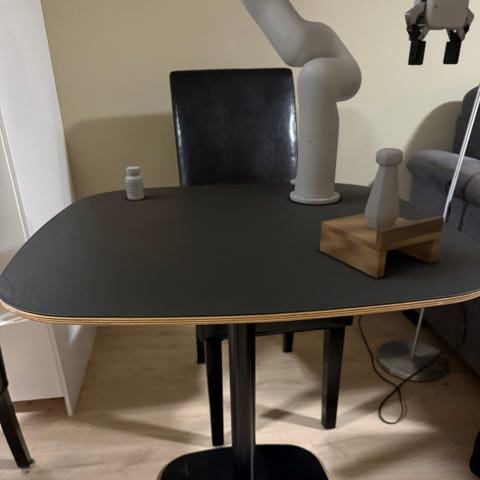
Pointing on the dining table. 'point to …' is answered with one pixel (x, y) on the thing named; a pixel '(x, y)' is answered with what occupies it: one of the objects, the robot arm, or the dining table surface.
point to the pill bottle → (134, 183)
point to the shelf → (379, 241)
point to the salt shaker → (385, 190)
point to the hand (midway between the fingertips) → (432, 64)
